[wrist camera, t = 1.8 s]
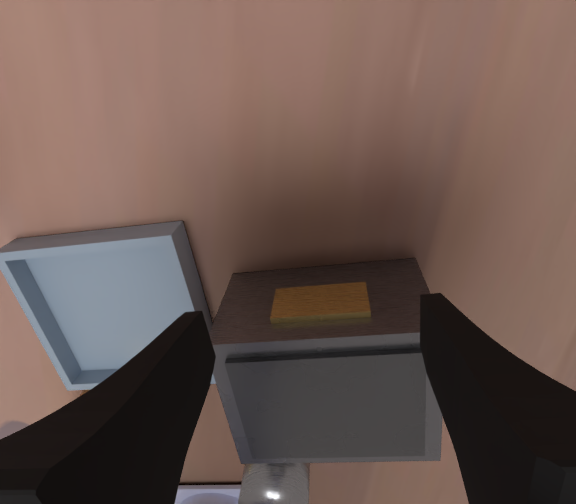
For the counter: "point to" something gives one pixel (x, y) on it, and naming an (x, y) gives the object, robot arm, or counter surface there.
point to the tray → (103, 293)
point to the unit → (326, 365)
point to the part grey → (275, 483)
